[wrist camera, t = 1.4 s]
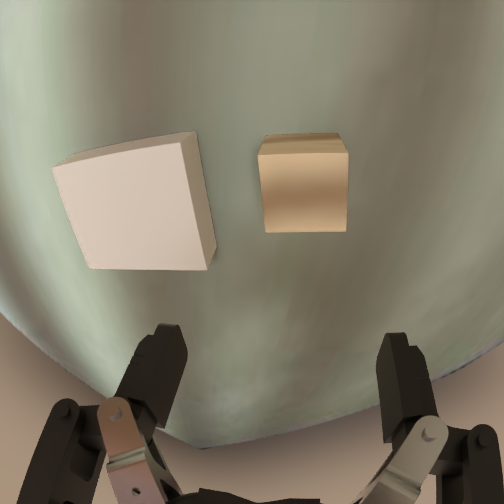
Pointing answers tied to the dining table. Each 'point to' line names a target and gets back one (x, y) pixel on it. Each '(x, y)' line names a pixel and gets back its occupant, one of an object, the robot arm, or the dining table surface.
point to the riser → (140, 204)
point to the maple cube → (304, 182)
